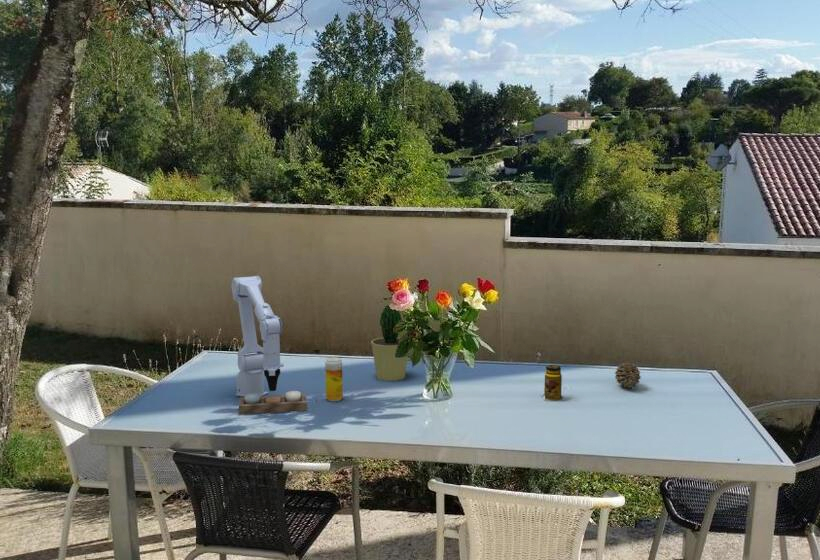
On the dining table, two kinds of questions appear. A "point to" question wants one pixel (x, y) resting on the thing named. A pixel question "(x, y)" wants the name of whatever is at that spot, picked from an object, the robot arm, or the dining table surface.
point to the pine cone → (627, 375)
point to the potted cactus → (388, 348)
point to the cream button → (293, 396)
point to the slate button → (252, 398)
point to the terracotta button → (273, 399)
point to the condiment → (553, 383)
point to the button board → (272, 405)
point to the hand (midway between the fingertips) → (272, 390)
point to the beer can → (334, 379)
